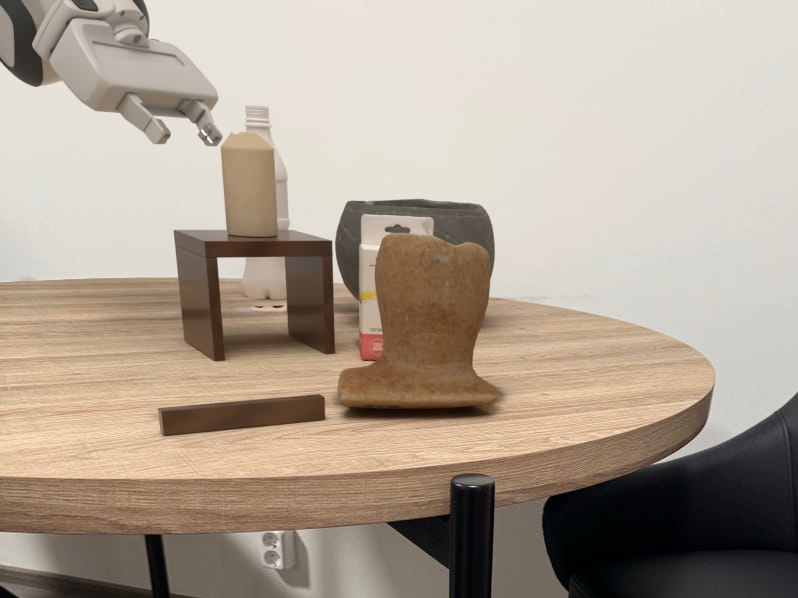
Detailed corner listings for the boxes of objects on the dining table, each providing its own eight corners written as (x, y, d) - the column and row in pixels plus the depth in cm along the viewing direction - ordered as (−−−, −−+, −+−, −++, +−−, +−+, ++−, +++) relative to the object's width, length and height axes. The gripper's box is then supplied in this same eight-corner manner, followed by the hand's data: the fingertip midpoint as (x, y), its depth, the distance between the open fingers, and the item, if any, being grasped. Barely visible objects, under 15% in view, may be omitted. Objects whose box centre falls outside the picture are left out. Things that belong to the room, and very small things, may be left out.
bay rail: (164, 435, 76) (161, 411, 75) (160, 432, 77) (157, 407, 76) (325, 419, 83) (324, 396, 82) (320, 416, 84) (319, 393, 83)
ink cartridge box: (361, 361, 105) (359, 217, 98) (358, 352, 109) (357, 213, 102) (437, 362, 106) (441, 220, 100) (432, 353, 111) (435, 216, 104)
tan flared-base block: (481, 389, 96) (488, 229, 89) (507, 420, 85) (517, 241, 78) (330, 389, 93) (326, 223, 86) (339, 421, 82) (334, 236, 75)
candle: (275, 238, 102) (269, 133, 97) (223, 236, 101) (215, 130, 96) (280, 233, 106) (275, 133, 102) (231, 231, 106) (223, 130, 101)
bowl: (435, 345, 115) (438, 211, 108) (304, 323, 124) (299, 198, 117) (520, 324, 131) (528, 206, 124) (398, 305, 140) (399, 195, 133)
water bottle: (242, 309, 132) (228, 103, 120) (242, 301, 138) (229, 105, 126) (294, 310, 133) (285, 107, 121) (292, 302, 139) (284, 108, 127)
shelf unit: (214, 361, 101) (204, 241, 96) (184, 340, 110) (173, 229, 105) (335, 353, 108) (332, 240, 102) (297, 334, 117) (292, 229, 111)
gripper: (150, 65, 110) (228, 163, 112) (18, 45, 93) (114, 162, 94) (179, 20, 106) (259, 122, 108) (48, -9, 89) (146, 113, 91)
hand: (190, 141), depth 101 cm, fingers open, 8 cm apart
